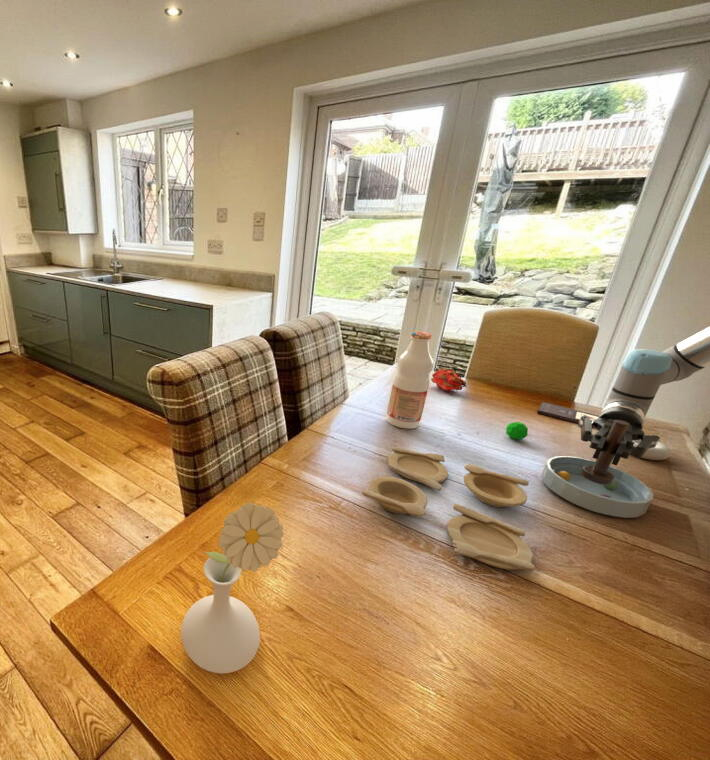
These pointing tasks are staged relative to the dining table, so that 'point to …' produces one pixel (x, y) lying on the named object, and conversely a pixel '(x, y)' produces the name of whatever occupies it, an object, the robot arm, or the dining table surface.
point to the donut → (655, 451)
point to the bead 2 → (612, 485)
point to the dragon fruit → (448, 380)
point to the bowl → (597, 488)
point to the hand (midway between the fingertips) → (606, 456)
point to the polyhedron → (516, 430)
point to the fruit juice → (411, 383)
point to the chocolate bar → (564, 413)
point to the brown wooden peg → (606, 455)
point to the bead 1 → (564, 475)
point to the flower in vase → (221, 611)
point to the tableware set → (459, 507)
